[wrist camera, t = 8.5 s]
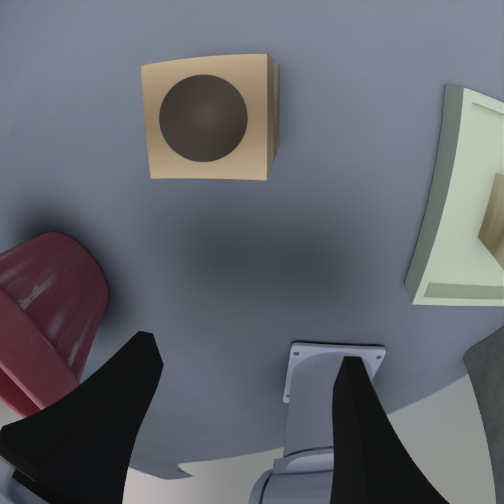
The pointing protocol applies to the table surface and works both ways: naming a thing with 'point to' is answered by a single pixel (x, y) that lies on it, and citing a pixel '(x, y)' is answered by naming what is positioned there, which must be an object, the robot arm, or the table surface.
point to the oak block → (212, 116)
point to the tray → (460, 207)
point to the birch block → (494, 221)
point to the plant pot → (46, 319)
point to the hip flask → (490, 398)
